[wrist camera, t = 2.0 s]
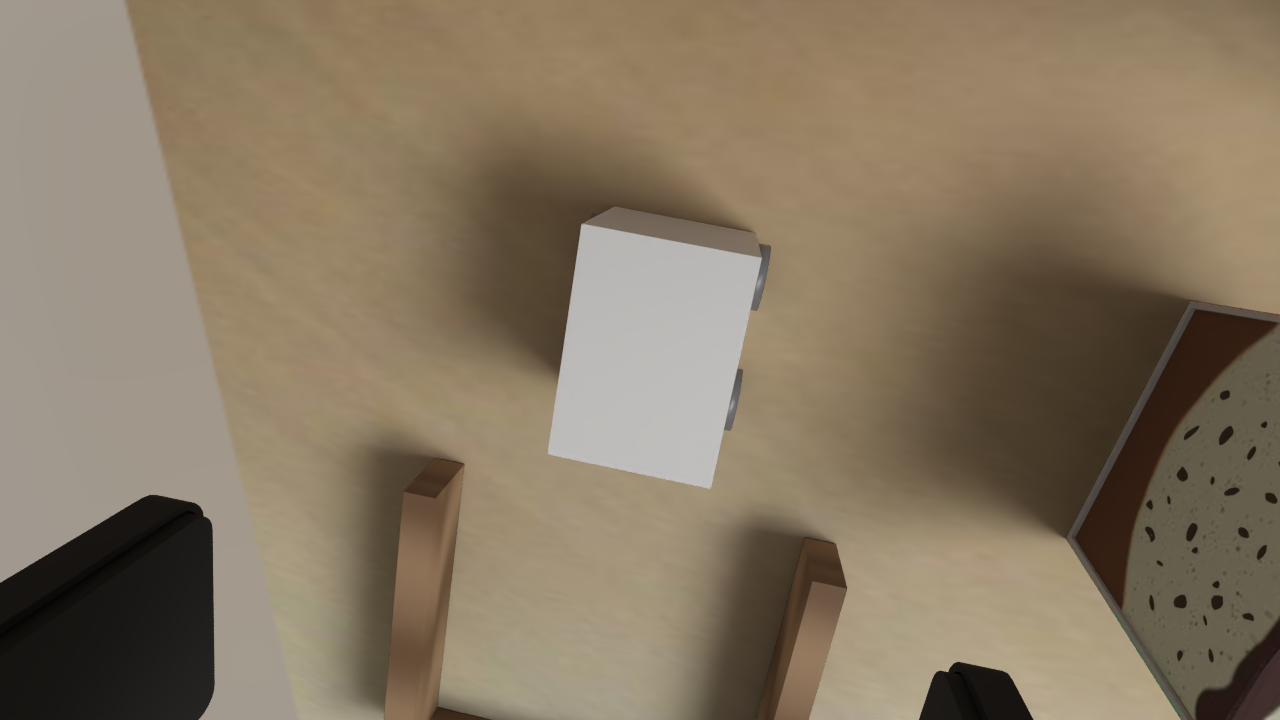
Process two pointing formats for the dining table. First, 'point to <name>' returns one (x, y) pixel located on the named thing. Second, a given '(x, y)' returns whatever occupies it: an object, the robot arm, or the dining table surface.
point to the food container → (1198, 518)
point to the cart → (655, 343)
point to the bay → (428, 592)
